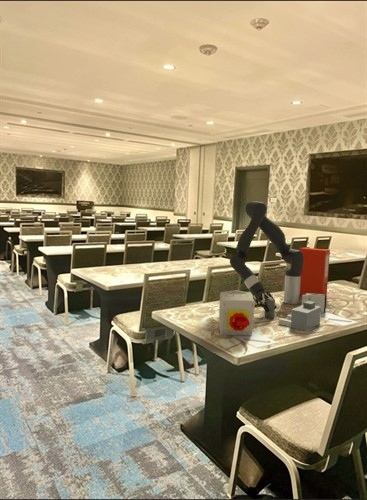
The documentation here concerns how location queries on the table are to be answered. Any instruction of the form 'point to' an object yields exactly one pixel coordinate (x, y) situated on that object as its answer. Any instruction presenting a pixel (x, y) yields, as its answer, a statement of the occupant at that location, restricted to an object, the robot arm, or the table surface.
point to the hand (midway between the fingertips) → (272, 310)
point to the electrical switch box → (236, 313)
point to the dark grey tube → (270, 308)
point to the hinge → (316, 300)
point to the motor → (303, 316)
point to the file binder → (314, 271)
